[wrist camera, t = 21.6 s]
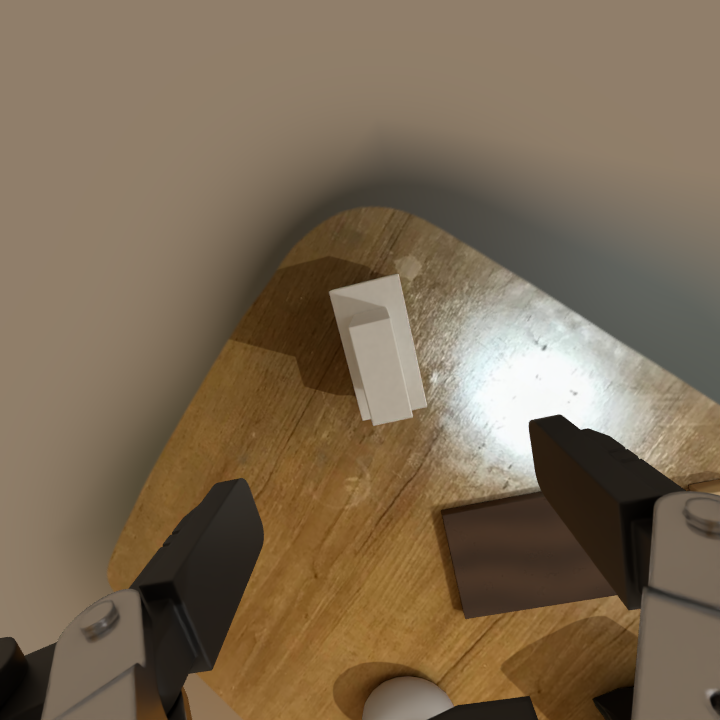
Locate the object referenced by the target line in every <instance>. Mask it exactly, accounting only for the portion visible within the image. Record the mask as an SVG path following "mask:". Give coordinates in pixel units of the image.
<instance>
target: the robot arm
mask: <svg viewBox="0 0 720 720" xmlns="http://www.w3.org/2000/svg"><path fill="white" fill-rule="evenodd" d="M529 433H530V440H531V447H532V454H533V460H534V467H535V473H536V478H537V481H538V484H539V487H540V489H541V491H542V493H543V495H544V497H545V498H546V499H547V501H548V502H549V503H550V505H551V506H552V507H553V509H554V510H555V512H556V513H557V514H558V516H559V517H560V518H561V520H562V521H563V522H564V524H565V525H566V526H567V528H568V529H569V530H570V532H571V533H572V534H573V536H574V537H575V539H576V540H577V541H578V543H579V544H580V545H581V547H582V548H583V549H584V551H585V552H586V553H587V555H588V556H589V557H590V559H591V560H592V562H593V563H594V564H595V566H596V567H597V568H598V570H599V571H600V572H601V574H602V575H603V576H604V578H605V579H606V580H607V582H608V583H609V584H610V586H611V587H612V589H613V590H614V591H615V593H616V594H617V595H618V597H619V598H620V599H621V601H622V602H623V603H624V605H625V606H626V607H627V609H628V610H635V609H641V613H640V624H639V636H638V648H637V659H636V671H635V683H634V694H633V706H632V718H631V720H720V495H716V494H711V493H706V492H697V491H686V490H684V489H683V488H681V487H680V486H679V485H677V484H676V483H674V482H673V481H672V480H670V479H669V478H667V477H666V476H665V475H663V474H662V473H660V472H659V471H658V470H656V469H655V468H653V467H652V466H651V465H649V464H648V463H646V462H645V461H644V460H642V459H639V458H638V456H637V455H635V454H634V453H633V452H631V451H630V450H628V449H625V447H624V446H623V445H621V444H620V443H619V442H617V441H616V440H614V439H613V438H612V437H610V436H608V435H605V434H602V433H600V432H597V431H594V430H591V429H583V430H580V429H579V428H578V427H576V426H575V425H574V424H572V423H571V422H570V421H569V420H567V419H566V418H565V417H564V416H562V415H554V416H549V417H544V418H539V419H534V420H531V421H530V422H529ZM263 540H264V531H263V525H262V522H261V519H260V516H259V513H258V510H257V508H256V505H255V502H254V499H253V496H252V494H251V491H250V488H249V485H248V483H247V482H246V480H245V479H243V478H239V479H234V480H230V481H225V482H220V483H216V484H215V485H214V486H213V487H212V488H211V490H210V491H209V493H208V494H207V495H206V497H205V498H204V499H203V501H202V502H201V503H200V504H199V505H198V506H197V507H196V508H194V509H193V510H192V511H191V512H190V513H188V514H187V515H186V516H185V517H184V518H183V519H182V520H181V521H180V523H179V524H178V525H177V527H176V528H175V529H174V531H173V532H172V535H170V536H169V537H168V538H167V540H166V541H165V542H164V543H163V547H161V548H160V549H159V550H158V551H157V553H156V554H155V555H154V556H153V558H152V559H151V560H150V562H149V563H148V564H147V565H146V567H145V568H144V569H143V571H142V572H141V573H140V575H139V576H138V577H137V578H136V580H135V581H134V582H133V584H132V585H131V586H130V587H129V589H124V590H120V591H117V592H114V593H111V594H109V595H107V596H105V597H103V598H101V599H100V600H98V601H97V602H95V603H93V604H92V605H90V606H89V607H88V608H86V609H85V610H84V611H82V612H81V613H80V614H79V615H78V616H77V617H76V618H75V619H74V620H73V621H72V622H71V623H70V624H69V625H68V626H67V627H66V629H65V630H64V631H63V632H62V634H61V635H60V637H59V639H58V641H57V642H56V643H54V644H51V645H49V646H47V647H45V648H42V649H40V650H37V651H35V652H32V653H30V654H28V655H25V656H24V654H23V653H22V651H21V650H20V647H19V646H18V644H17V642H16V641H15V639H14V638H12V637H5V638H0V720H192V717H191V711H190V706H189V701H188V697H187V694H186V692H185V689H184V687H183V685H184V683H185V680H186V678H187V676H188V674H190V673H197V672H204V671H210V670H212V669H213V667H214V664H215V662H216V659H217V657H218V655H219V652H220V650H221V647H222V645H223V642H224V640H225V637H226V635H227V632H228V630H229V628H230V625H231V623H232V620H233V618H234V615H235V613H236V610H237V608H238V605H239V603H240V601H241V598H242V596H243V593H244V591H245V588H246V586H247V583H248V581H249V578H250V576H251V574H252V571H253V569H254V566H255V564H256V561H257V559H258V556H259V554H260V551H261V549H262V546H263ZM427 720H538V718H537V715H536V712H535V710H534V707H533V704H532V701H531V699H530V696H526V697H518V698H511V699H503V700H495V701H487V702H480V703H472V704H464V705H457V706H455V707H453V708H450V709H448V710H446V711H444V712H442V713H440V714H438V715H436V716H433V717H431V718H429V719H427Z"/></svg>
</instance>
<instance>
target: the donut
mask: <svg viewBox="0 0 720 720" xmlns="http://www.w3.org/2000/svg"><path fill="white" fill-rule="evenodd" d="M453 707H454V705H453V704H452V702H451V700H450V699H449V697H448V696H447V694H446V693H445V692H444V691H443V690H442V689H440V688H439V687H438V686H437V685H435V684H434V683H432V682H430V681H427V680H425V679H423V678H418V677H411V676H405V677H396V678H393V679H390V680H388V681H385V682H383V683H382V684H381V685H379V686H378V687H377V688H375V689H374V690H373V691H372V693H371V694H370V696H369V697H368V699H367V700H366V702H365V705H364V710H363V716H362V720H427V719H429V718H431V717H433V716H436V715H438V714H440V713H442V712H444V711H446V710H448V709H450V708H453Z"/></svg>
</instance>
